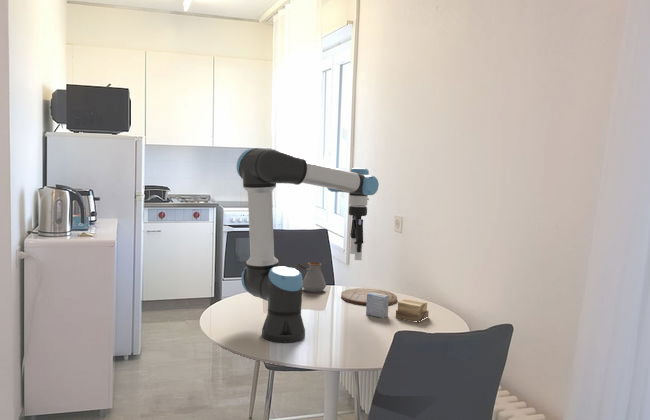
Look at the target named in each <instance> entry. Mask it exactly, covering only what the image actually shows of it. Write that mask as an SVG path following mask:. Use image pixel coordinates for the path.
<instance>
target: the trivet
mask: <svg viewBox="0 0 650 420" xmlns="http://www.w3.org/2000/svg"><path fill="white" fill-rule="evenodd" d="M371 292H374V293H379V294H384V295H388V296H389V303H388V306H390V305H394V304H396V303H397V302H398V301H397V300H398V297H397V295H396V294H395V293H393V292H390V291H387V290H382V289H377V288H365V287H361V288H359V287H358V288H350V289H345V290H343V291H341V293H340V296H341V297H340V298H341V299H342V301H345V302H346V303H350V304H353V305H359V306H365V307H366V306H367V294H369V293H371Z"/></svg>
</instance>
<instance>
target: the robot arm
mask: <svg viewBox="0 0 650 420" xmlns="http://www.w3.org/2000/svg"><path fill="white" fill-rule="evenodd" d="M236 171H237V172H236V173H237V174H238V176H239V177H240V179H241V180H242V184H243V185H242V188H243V189H244V190H245V191H246V192H247V205H248V206H247V207H248V228H249V229H248V230H249V231H248V233H249V236H248V237H249V255H250V256H249V258H248V259H247V260H246V265H245V267H244V270H242V272H241V279H240V280H241V285H242V287H243V289H244V291H246V292H247V293H249V294H250V295H252V297H253V296H254V297H256V298H258V299H259V298H260V299H262V300H264V301H267V314H266V317H265V320H264V323H263V326H262V328H261V337H262V338H263V339H265V340H267V341H270V342H275V343H282V344H283V343H285V344H286V343H296V342H299V341H302V340H304V339H305V338H306V328H305V324H304V322H303V317H302V300H303V274H302V273H301V272H300V271H299V270H298V269H297V268H295V267H288V266H283V265H282V266H279V259H278V258H277V257H276V256H275V247H274V246H275V241H274V217H273V213H274V212H273V191H274V190H275V188H276V187H277V184H289V185H290V184H291V185H297V186H298V185H301V184H307V185H312V186H316V187H317V186H318V187H322V188H327V190H328V191H330V192H332V193H339V192H340V193H345V194H349V197H348V205H349V207H348V215H349V216H351V227H350V228H351V229H350V234H349V235H350V251H349V254H351V255H354V261H363V260H362V258H363V257H362V256H363V244H364V219H363V218H362V217H366V216H367V215H368V207H367V206H368V201H369V200H370V198H369V197H368V196H374V195H375V194H377V192H378V190H379V185H380V183H379V180H378V178H377V177H376V176H374V175H370V171H369V170H368V168H365V167H361V168H360V167H352V168H351V169H350V171H349V170H344V169H341V168H340V169H339V168H337V167H331V166H328V165H325V164H324V165H323V164H320V163H319V164H318V163H315V162H311V161H307V160H306V158H304V157H301V156H298V155H295V154H291V153H288V152H286V151H282V150H279V149H273V148H260V147H259V148H250V149H249V148H248V149H246V150H245V151H243V152H242V153H241V155H239V157H238V159H237V161H236Z"/></svg>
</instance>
